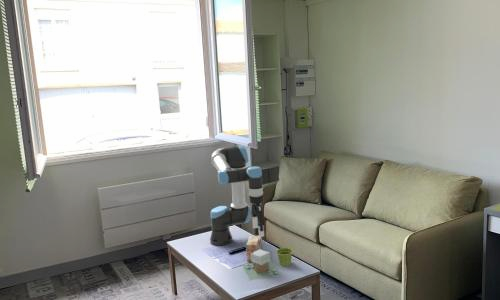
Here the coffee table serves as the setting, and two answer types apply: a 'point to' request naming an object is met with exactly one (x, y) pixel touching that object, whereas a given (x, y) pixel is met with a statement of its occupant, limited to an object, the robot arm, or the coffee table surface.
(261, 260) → the small box
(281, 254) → the plant pot
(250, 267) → the build plate
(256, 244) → the stack of blocks
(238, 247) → the coffee table surface
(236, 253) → the coffee table surface
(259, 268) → the base brick
